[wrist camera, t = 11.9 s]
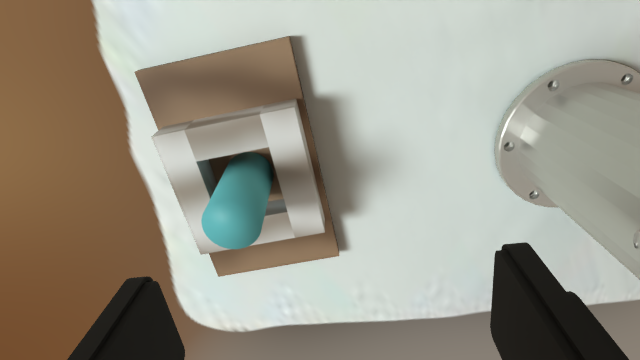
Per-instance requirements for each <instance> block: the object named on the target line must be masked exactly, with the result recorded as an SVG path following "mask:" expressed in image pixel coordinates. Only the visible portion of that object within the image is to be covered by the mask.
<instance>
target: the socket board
mask: <svg viewBox="0 0 640 360" xmlns="http://www.w3.org/2000/svg"><path fill="white" fill-rule="evenodd" d="M135 74H136V77H137V79H138V82H139V84H140V86H141V89H142V91H143V94H144V96H145V99H146V101H147V104H148V106H149V108H150V111H151V113H152V116H153V118H154V121H155V123H156V125H157V128H158V130H159V131H158V132H156V133H155V134H154V135H153V136H152V137H151V138H152V140H153V142H154V145H155V147H156V150H157V152H158V154H159V157H160V159H161V161H162V164H163V166H164V169H165V171H166V173H167V176H168V178H169V180H170V183H171V185H172V188H173V190H174V192H175V195H176V197H177V199H178V202H179V204H180V206H181V209H182V211H183V214H184V216H185V218H186V221H187V223H188V225H189V228H190V230H191V233H192V235H193V237H194V240H195V242H196V244H197V247H198V249H199V252H200V254H206V253H209V255H210V257H211V260H212V262H213V265H214V267H215V269H216V272H217V274H218V277H219V276H225V275H231V274H236V273H242V272H248V271H254V270H260V269H266V268H271V267H277V266H283V265H289V264H295V263H300V262H306V261H312V260H318V259H324V258H330V257H335V256H339V249H338V244H337V240H336V236H335V231H334V227H333V223H332V218H331V214H330V210H329V205H328V201H327V197H326V192H325V188H324V184H323V179H322V175H321V171H320V166H319V162H318V158H317V153H316V149H315V145H314V140H313V136H312V132H311V127H310V123H309V118H308V114H307V110H306V105H305V101H304V97H303V92H302V88H301V84H300V79H299V75H298V71H297V66H296V62H295V58H294V53H293V49H292V45H291V40H290V36H287V37H283V38H278V39H274V40H270V41H265V42H261V43H256V44H252V45H247V46H243V47H238V48H234V49H230V50H225V51H221V52H216V53H212V54H207V55H203V56H198V57H194V58H190V59H185V60H181V61H176V62H172V63H167V64H163V65H158V66H154V67H150V68H145V69H141V70H138V71H136V72H135ZM243 152H253V153H257V154H259V155H261V156H263V157H264V158H266V159H267V160H268V161H269V163H270V164H271V166H272V169H273V174H274V176H273V182H272V186H271V190H270V195H269V199H268V203H267V208H266V212H265V217H264V221H263V225H262V230H261V233H260V236H259V237H258V239H257V240H256V241H255V242H254V243H253V244H251V245H250V246H248V247H245V248H241V249H227V248H223V247H221V246H218V245H217V244H215V243H213V242H212V241H211V240H210V239H209V238H208V237H207V236H206V234H205V233H204V231H203V228H202V223H201V220H202V215H203V212H204V210H205V208H206V206H207V205H208V203H209V201H210V199H211V197H212V195H213V193H214V191H215V189H216V187H217V185H218V183H219V181H220V179H221V177H222V175H223V173H224V171H225V169H226V167H227V165H228V163H229V162H230V160H231V159H232V158H233V157H234V156H236V155H237V154H240V153H243Z"/></svg>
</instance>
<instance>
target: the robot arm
mask: <svg viewBox="0 0 640 360" xmlns="http://www.w3.org/2000/svg"><path fill="white" fill-rule="evenodd" d="M549 82H550V84H549ZM548 84H549V85H548ZM506 143H507V144H506ZM505 144H506V145H505ZM495 160H496V166H497V168H498V171H499V173H500V176H501V178H502V179H503V180H504V182H505V183H506V185H507V186H508V187H509V188H510V189H511V190H512V191H513V192H514V193H515V194H516V195H518V196H519V197H521V198H522V199H524V200H525V201H528V202H530V203H533V204H535V205H539V206H545V207H559V208H560V209H561V210H562V211H564V212H565V213H566V214H567V215H568V216H569V217H570V218H571V219H573V220H574V221H575V222H576V223H577V224H578V225H579V226H580V227H581V228H583V229H584V230H585V231H586V232H587V233H588V234H589V235H590V236H591V237H593V238H594V239H595V240H596V241H597V242H598V243H599V244H600V245H602V246H603V247H604V248H605V249H606V250H607V251H608V252H609V253H610V254H612V255H613V256H614V257H615V258H616V259H617V260H618V261H619V262H620V263H622V264H623V265H624V266H625V267H626V268H627V269H628V270H629V271H631V272H632V273H633V274H634V275H635V276H636V277H637V278H638V279H639V280H640V73H638V72H637V71H635V70H634V69H632V68H631V67H628V66H625V65H622V64H619V63H616V62H611V61H606V60H583V61H577V62H572V63H569V64H566V65H563V66H560V67H558V68H555V69H553V70H551V71H550V72H548V73H546V74H544V75H542V76H541V77H539V78H538V79H537V80H535V81H534V82H533V83H531V84H530V85H529V86H527V87H526V88H525V89H524V90H523V91H522V92H521V93H520V95H519V96H518V97H517V98H516V99H515V100H514V101H513V103H512V104H511V106H510V107H509V109H508V110H507V111H506V113H505V115H504V117H503V119H502V121H501V123H500V126H499V129H498V132H497V136H496V140H495ZM490 325H491V326H490V328H491V334H492V337H493V340H494V342H495V345H496V347H497V349H498V351H499V353H500V356H501V358H502V360H629V359H628V358H627V356H626V355H625V354H624V353H623V352H622V350H621V349H620V348H619V347H618V345H617V344H616V343H615V341H614V340H613V339H612V338H611V336H610V335H609V334H608V333H607V332H606V331H605V329H604V328H603V326H602V325H601V324H600V323H599V322H598V320H597V319H596V318H595V317H594V315H593V314H592V313H591V312H590V310H589V309H588V308H587V307H586V305H585V304H584V303H583V302H582V300H581V299H580V298H579V297H578V296H577V295H576V294H575V293H573V292H571V291H569V292H566V291H565V290H564V288H563V287H562V286H561V285H560V283H559V282H558V281H557V279H556V278H555V277H554V276H553V274H552V273H551V272H550V270H549V269H548V268H547V267H546V265H545V264H544V263H543V261H542V260H541V259H540V258H539V256H538V255H537V254H536V252H535V251H534V250H533V248H532V247H531V246H530V245H529V244H528V243H515V244H504V245H503V246H502V250H500V251H496V253H495V262H494V277H493V293H492V308H491V324H490ZM184 357H185V349H184V346H183V343H182V341H181V338H180V336H179V333H178V331H177V328H176V326H175V323H174V321H173V318H172V316H171V313H170V311H169V308H168V306H167V303H166V301H165V298H164V296H163V293H162V291H161V288H160V286H159V284H158V282H156V281H153V280H152V278H151V277H137V278H129V279H127V280H126V281H125V282H124V283H123V285H122V286H121V288H120V289H119V290H118V292H117V293H116V294H115V296H114V297H113V298H112V300H111V301H110V303H109V304H108V305H107V307H106V308H105V309H104V311H103V312H102V313H101V315H100V316H99V317H98V319H97V320H96V321H95V323H94V324H93V325H92V327H91V328H90V330H89V331H88V332H87V334H86V335H85V337H84V338H83V339H82V340H81V342H80V343H79V344H78V346H77V347H76V348H75V350H74V351H73V353H72V354H71V355H70V357H69V358H68V360H184Z"/></svg>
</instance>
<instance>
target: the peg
mask: <svg viewBox="0 0 640 360" xmlns="http://www.w3.org/2000/svg"><path fill="white" fill-rule="evenodd" d="M273 176H274V174H273V169H272V166H271V164H270V163H269V161H268V160H267V159H266V158H264V157H263V156H261V155H259V154H257V153H253V152H243V153H240V154H237V155H236V156H234V157H233V158H232V159H231V160H230V162H229V163H228V165H227V167H226V169H225V171H224V173H223V175H222V177H221V179H220V181H219V183H218V185H217V187H216V189H215V191H214V193H213V195H212V197H211V199H210V201H209V203H208V205H207V206H206V208H205V210H204V212H203V215H202V220H201V223H202V228H203V231H204V233H205V234H206V236H207V237H208V238H209V239H210V240H211V241H212V242H213V243H215V244H217V245H218V246H221V247H223V248H227V249H241V248H245V247H248V246H250V245H251V244H253V243H254V242H255V241H256V240H257V239H258V237H259V236H260V233H261V230H262V225H263V221H264V217H265V212H266V208H267V203H268V199H269V195H270V190H271V186H272V182H273Z"/></svg>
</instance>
